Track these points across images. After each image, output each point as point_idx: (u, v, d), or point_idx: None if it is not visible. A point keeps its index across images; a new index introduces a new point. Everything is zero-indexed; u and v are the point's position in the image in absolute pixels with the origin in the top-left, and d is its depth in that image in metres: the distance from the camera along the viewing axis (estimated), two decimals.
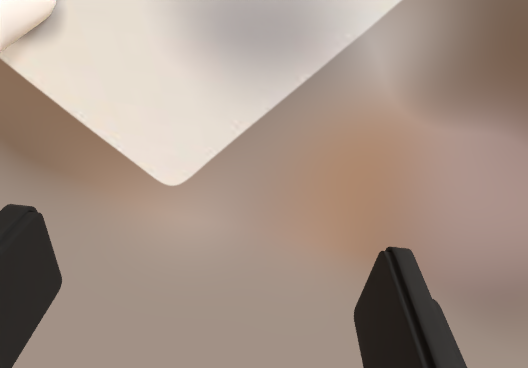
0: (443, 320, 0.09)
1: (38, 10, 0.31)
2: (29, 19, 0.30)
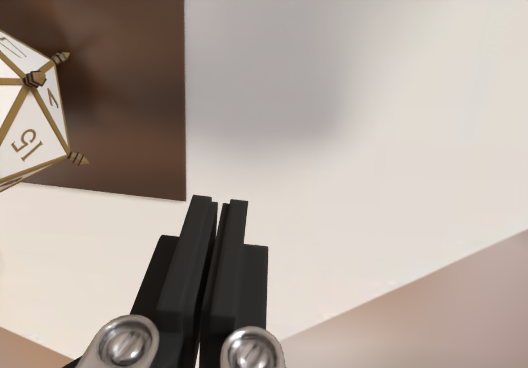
0: (267, 262, 0.09)
1: None
2: None
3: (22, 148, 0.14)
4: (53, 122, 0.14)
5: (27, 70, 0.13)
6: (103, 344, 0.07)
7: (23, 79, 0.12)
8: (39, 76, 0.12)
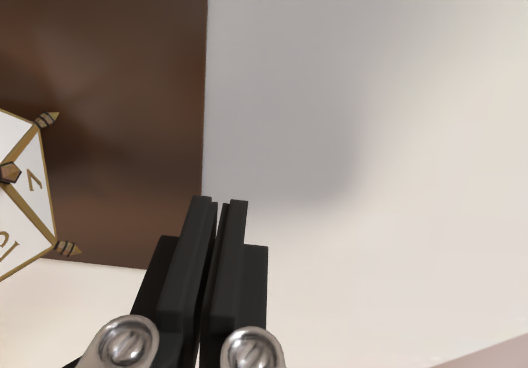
0: (267, 262, 0.09)
1: None
2: None
3: None
4: (33, 215, 0.11)
5: None
6: (103, 344, 0.07)
7: None
8: (10, 172, 0.09)
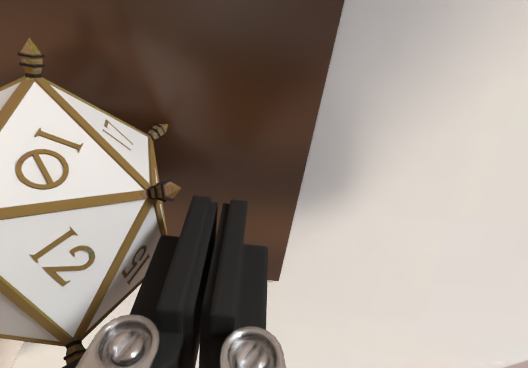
0: (267, 262, 0.09)
1: None
2: None
3: (131, 270, 0.10)
4: (164, 228, 0.11)
5: (144, 171, 0.10)
6: (103, 344, 0.07)
7: (148, 191, 0.09)
8: (173, 190, 0.09)
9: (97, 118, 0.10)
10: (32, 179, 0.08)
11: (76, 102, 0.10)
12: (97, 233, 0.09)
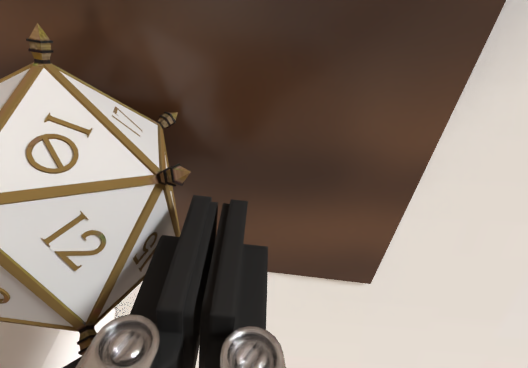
0: (267, 262, 0.09)
1: None
2: None
3: (142, 257, 0.10)
4: (174, 215, 0.11)
5: (153, 156, 0.10)
6: (103, 344, 0.07)
7: (157, 176, 0.09)
8: (182, 174, 0.09)
9: (106, 105, 0.10)
10: (42, 163, 0.08)
11: (85, 88, 0.10)
12: (108, 218, 0.09)
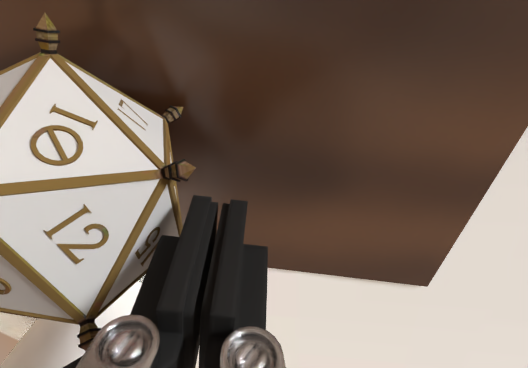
0: (267, 262, 0.09)
1: None
2: None
3: (144, 251, 0.10)
4: (177, 210, 0.11)
5: (158, 151, 0.10)
6: (103, 344, 0.07)
7: (162, 171, 0.09)
8: (187, 170, 0.09)
9: (112, 97, 0.10)
10: (46, 156, 0.08)
11: (91, 80, 0.10)
12: (111, 212, 0.09)
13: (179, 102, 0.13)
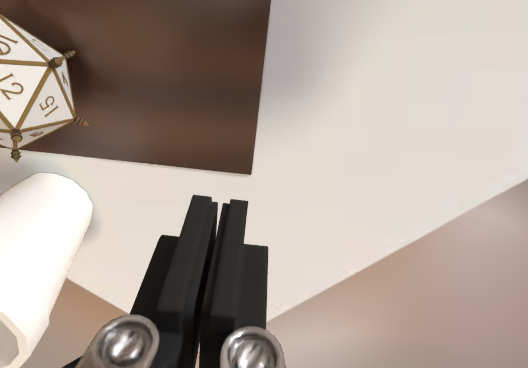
0: (267, 262, 0.09)
1: (77, 247, 0.29)
2: (70, 266, 0.28)
3: (45, 108, 0.21)
4: (65, 93, 0.22)
5: (50, 58, 0.21)
6: (103, 344, 0.07)
7: (48, 62, 0.20)
8: (58, 60, 0.20)
9: (28, 36, 0.21)
10: None
11: (17, 27, 0.21)
12: (24, 78, 0.20)
13: (73, 50, 0.24)
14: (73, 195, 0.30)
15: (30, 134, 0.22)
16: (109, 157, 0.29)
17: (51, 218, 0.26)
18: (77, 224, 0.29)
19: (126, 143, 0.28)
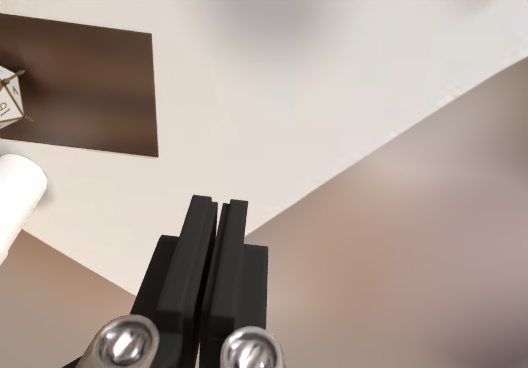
0: (267, 262, 0.09)
1: (33, 207, 0.41)
2: (26, 219, 0.40)
3: (0, 110, 0.33)
4: (14, 100, 0.34)
5: (3, 78, 0.32)
6: (103, 344, 0.07)
7: (0, 81, 0.32)
8: (6, 80, 0.31)
9: None
10: None
11: None
12: None
13: (23, 69, 0.36)
14: (30, 170, 0.41)
15: None
16: (55, 143, 0.41)
17: (11, 185, 0.38)
18: (32, 191, 0.41)
19: (66, 133, 0.40)
